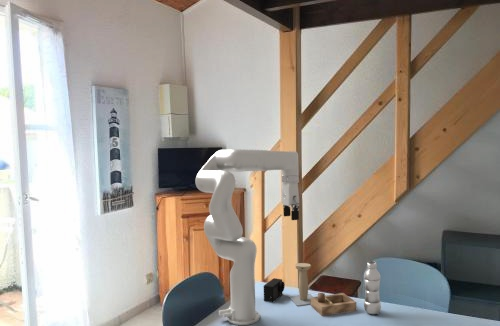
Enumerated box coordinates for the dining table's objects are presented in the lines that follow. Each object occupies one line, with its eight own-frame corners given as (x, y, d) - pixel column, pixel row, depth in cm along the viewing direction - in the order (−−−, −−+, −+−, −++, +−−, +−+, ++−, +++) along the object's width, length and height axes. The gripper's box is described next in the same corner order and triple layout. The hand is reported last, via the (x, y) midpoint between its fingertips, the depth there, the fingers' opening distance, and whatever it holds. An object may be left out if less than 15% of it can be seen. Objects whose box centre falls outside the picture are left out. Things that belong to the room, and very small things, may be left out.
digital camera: (275, 303, 170) (274, 287, 169) (263, 301, 172) (263, 285, 172) (285, 295, 179) (284, 279, 179) (274, 293, 182) (273, 277, 181)
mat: (297, 306, 166) (297, 305, 166) (288, 297, 176) (288, 296, 176) (319, 303, 169) (319, 302, 169) (309, 294, 178) (309, 293, 178)
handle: (310, 302, 169) (310, 267, 168) (295, 301, 170) (294, 266, 170) (311, 297, 174) (311, 263, 173) (296, 296, 175) (296, 262, 174)
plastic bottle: (363, 315, 156) (362, 264, 155) (364, 308, 162) (364, 259, 161) (380, 317, 154) (380, 265, 153) (381, 310, 160) (380, 260, 159)
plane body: (321, 316, 156) (321, 299, 156) (310, 305, 166) (310, 290, 166) (356, 310, 160) (356, 294, 160) (343, 301, 170) (343, 286, 170)
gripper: (275, 178, 184) (276, 215, 185) (289, 181, 167) (290, 222, 168) (291, 177, 186) (291, 214, 187) (305, 180, 169) (306, 220, 170)
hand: (291, 217), depth 178 cm, fingers open, 9 cm apart
